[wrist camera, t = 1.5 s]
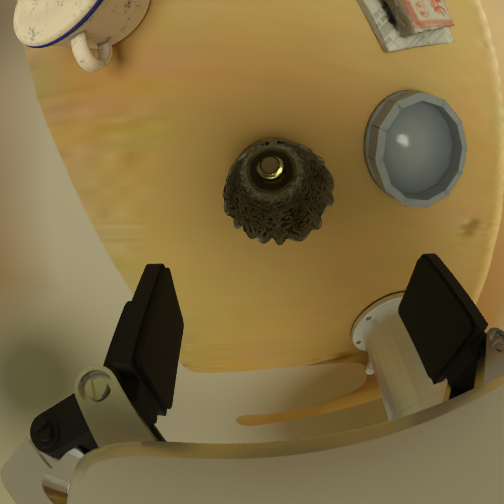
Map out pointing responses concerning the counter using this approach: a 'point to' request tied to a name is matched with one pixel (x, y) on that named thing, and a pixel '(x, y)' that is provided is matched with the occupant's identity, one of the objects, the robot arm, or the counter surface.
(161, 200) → the counter surface
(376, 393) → the counter surface
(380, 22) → the packaged product
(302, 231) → the dark rounded textured piece
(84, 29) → the teacup with lid
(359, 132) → the counter surface
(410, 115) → the blue-grey plate
